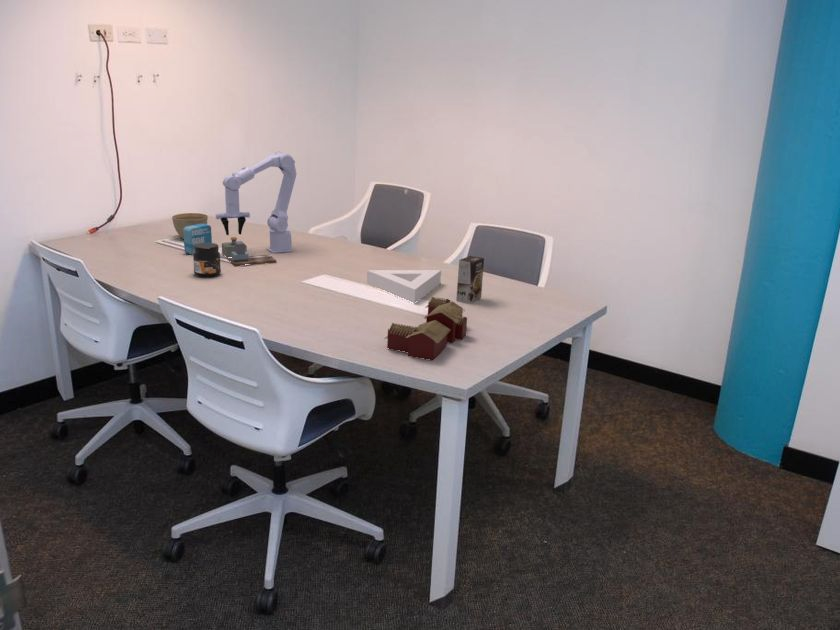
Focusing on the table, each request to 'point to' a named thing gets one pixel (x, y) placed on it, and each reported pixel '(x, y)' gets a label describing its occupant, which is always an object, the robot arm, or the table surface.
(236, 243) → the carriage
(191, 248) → the data package
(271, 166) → the robot arm
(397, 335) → the toy houses
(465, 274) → the coffee box
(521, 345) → the table surface
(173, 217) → the planter bowl
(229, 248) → the cabinet
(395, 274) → the triangle block
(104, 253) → the table surface
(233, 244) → the button
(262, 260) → the rail
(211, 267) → the supplement container
